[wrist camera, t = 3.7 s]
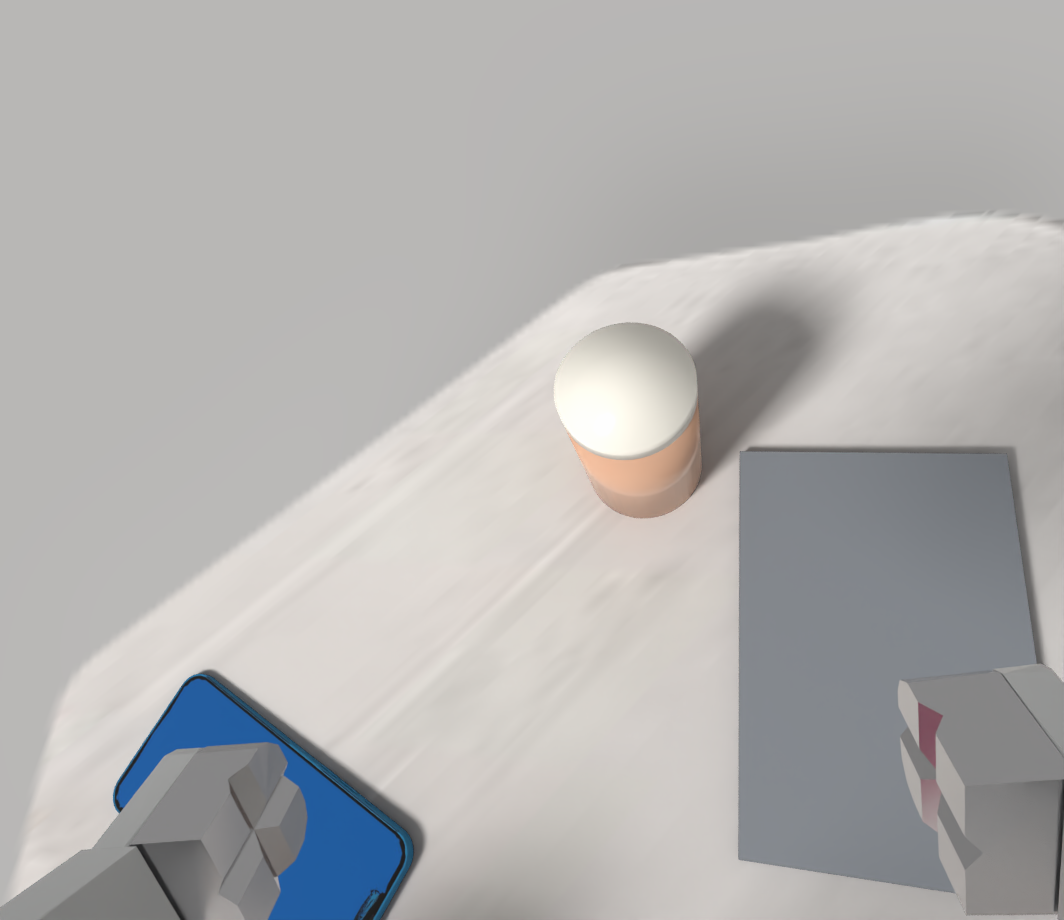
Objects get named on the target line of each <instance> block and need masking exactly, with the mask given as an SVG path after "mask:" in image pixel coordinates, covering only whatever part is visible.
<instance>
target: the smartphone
mask: <svg viewBox="0 0 1064 920" xmlns="http://www.w3.org/2000/svg"><path fill="white" fill-rule="evenodd" d="M262 742H269V743H273V744H277V745H279V747H280V749H281V751H282V752H283V754H284V756H285V758H286V760H287V762H288V764H287V767H286V770H285V772H284V776H285V777H286V778H288V779H289V780H291V781H292V782H293V783H295V784H296V785H297V786H299V788H300V790H301V792H302V795H303V797H304V799H305V804H306V810H307V817H308V818H307V825H306V832H305V839H304V842H303V844H302V847H301V849H300V851H299V853H298V856H297V858H296V860H295V861H294V862H293V863H292V864H291V865H290V866H289V867H288V868H287V869H285V870H284V871H283V872H282V873H281V874H280V875H279V876H278V881H279V886H280V891H281V892H280V894H279V897H278V899H277V901H276V903H275V905H274V907H273V909H272V911H271V913H270V916H269V918H268V920H380V919H381V917H382V915H383V914H384V912H385V910H386V908H387V906H388V905H389V903H390V901H391V899H392V898H393V896H394V894H395V892H396V890H397V889H398V887H399V885H400V883H401V882H402V880H403V878H404V876H405V874H406V873H407V871H408V869H409V867H410V865H411V863H412V859H413V844H412V840H411V838H410V836H409V835H408V833H407V832H406V831H405V830H404V829H403V828H402V827H400V826H399V825H398V824H397V823H395V822H394V821H393V820H392V819H390V818H389V817H388V816H387V815H385V814H384V813H383V812H382V811H380V810H379V809H378V808H377V807H375V806H374V805H373V804H372V803H370V802H369V801H368V800H367V799H365V798H364V797H363V796H362V795H360V794H359V793H358V792H357V791H355V790H354V789H353V788H352V787H350V786H349V785H348V784H347V783H345V782H344V781H343V780H341V779H340V778H339V777H338V776H337V775H335V774H334V773H333V772H332V771H330V770H329V769H328V768H327V767H325V766H324V765H322V764H321V763H320V762H319V761H317V760H316V759H315V758H314V757H312V756H311V755H310V754H309V753H307V752H306V751H305V750H303V749H302V748H301V747H300V746H298V745H297V744H296V743H295V742H293V741H292V740H291V739H290V738H288V737H287V736H286V735H285V734H283V733H282V732H281V731H279V730H278V729H277V728H276V727H274V726H273V725H272V724H271V723H269V722H268V721H267V720H266V719H264V718H263V717H262V716H261V715H259V714H258V713H257V712H256V711H254V710H253V709H252V708H251V707H250V706H248V705H247V704H246V703H244V702H243V701H242V700H241V699H239V698H238V697H237V696H236V695H234V694H233V693H232V692H231V691H229V690H228V689H227V688H226V687H224V686H223V685H222V684H220V683H219V682H218V681H217V680H215V679H214V678H213V677H211V676H209V675H205V674H196V675H193V676H191V677H189V678H188V679H187V680H186V681H185V682H184V683H183V685H182V686H181V688H180V689H179V691H178V692H177V693H176V695H175V696H174V698H173V699H172V701H171V702H170V704H169V705H168V707H167V708H166V710H165V711H164V713H163V714H162V716H161V717H160V719H159V720H158V722H157V723H156V725H155V726H154V728H153V729H152V731H151V732H150V734H149V735H148V737H147V738H146V740H145V741H144V743H143V744H142V746H141V747H140V749H139V750H138V752H137V753H136V755H135V756H134V758H133V759H132V761H131V762H130V764H129V765H128V767H127V768H126V770H125V771H124V773H123V774H122V775H121V777H120V778H119V780H118V782H117V784H116V786H115V789H114V793H113V803H114V806H115V808H116V810H117V811H118V813H120V812H121V811H122V810H123V808H124V807H125V806H126V805H127V803H128V802H129V801H130V799H131V798H132V797H133V796H134V794H135V793H136V792H137V790H138V789H139V788H140V787H141V785H142V784H143V783H144V781H145V780H146V779H147V778H148V776H149V775H150V774H151V772H152V771H153V770H154V769H155V767H156V766H157V765H158V763H159V762H160V761H161V760H162V758H163V757H164V756H165V755H167V754H169V753H171V752H173V751H175V750H176V749H189V748H205V747H207V746H220V745H234V744H248V743H262Z"/></svg>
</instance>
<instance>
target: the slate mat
mask: <svg viewBox="0 0 1064 920" xmlns="http://www.w3.org/2000/svg"><path fill="white" fill-rule="evenodd" d="M1033 664H1037V661H1036V654H1035V647H1034V640H1033V633H1032V626H1031V619H1030V612H1029V605H1028V598H1027V591H1026V584H1025V577H1024V570H1023V563H1022V556H1021V549H1020V542H1019V535H1018V528H1017V521H1016V514H1015V507H1014V500H1013V493H1012V486H1011V479H1010V472H1009V465H1008V458H1007V454H979V453H868V452H757V451H740V523H739V843H738V858H739V860H744V861H750V862H757V863H763V864H769V865H776V866H782V867H789V868H795V869H802V870H808V871H815V872H821V873H828V874H834V875H841V876H847V877H854V878H860V879H867V880H873V881H880V882H886V883H893V884H899V885H906V886H912V887H919V888H925V889H932V890H938V891H944V892H951V893H956V892H955V890H954V888H953V886H952V884H951V882H950V880H949V878H948V875H947V873H946V871H945V869H944V867H943V865H942V863H941V860H940V858H939V846H938V832H936V831H935V830H934V829H932V828H931V827H930V826H928V825H927V824H925V823H924V822H923V821H922V819H921V817H920V814H919V812H918V810H917V808H916V805H915V803H914V801H913V798H912V795H911V792H910V789H909V787H908V784H907V780H906V775H905V771H904V766H903V762H902V755H901V744H900V735H901V734H902V733H903V732H904V731H905V729H906V728H907V727H908V725H907V723H906V721H905V719H904V717H903V715H902V713H901V711H900V709H899V707H898V686H899V681H900V680H902V679H912V678H921V677H931V676H940V675H950V674H959V673H969V672H978V671H987V670H989V671H992V670H993V669H999V668H1007V667H1016V666H1024V665H1033Z"/></svg>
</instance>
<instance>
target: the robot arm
mask: <svg viewBox="0 0 1064 920" xmlns="http://www.w3.org/2000/svg"><path fill="white" fill-rule="evenodd" d="M898 707H899V709H900V711H901V713H902V715H903V717H904V719H905V721H906V723H907V725H908V727H907V728H906V729H905V731H904V732H903V733H902V734H901V735H900V744H901V755H902V762H903V766H904V771H905V775H906V780H907V784H908V787H909V789H910V792H911V795H912V798H913V801H914V803H915V805H916V808H917V810H918V812H919V814H920V817H921V819H922V821H923V822H924V823H925V824H927V825H928V826H930V827H931V828H932V829H934V830H935V831H936V832H938V846H939V858H940V860H941V863H942V865H943V867H944V869H945V871H946V873H947V875H948V878H949V880H950V882H951V884H952V886H953V888H954V890H955V892H956V895H957V897H958V899H959V901H960V903H961V905H962V907H963V910H964V912H965V914H966V915H1044V914H1058V918H1057V919H1058V920H1064V683H1063V681H1062V680H1061V679H1060V678H1059V677H1058V676H1057V674H1056V673H1055V672H1054V671H1053V670H1052V669H1051V668H1049V667H1047V666H1045V665H1043V664H1033V665H1024V666H1016V667H1007V668H999V669H993V670H992V671H989V670H987V671H978V672H969V673H959V674H950V675H940V676H931V677H921V678H912V679H902V680H900V681H899V686H898ZM287 764H288V762H287V760H286V758H285V756H284V754H283V752H282V751H281V749H280V747H279V745H277V744H273V743H269V742H262V743H248V744H234V745H220V746H207V747H205V748H189V749H176V750H175V751H173V752H171V753H169V754H167V755H165V756H164V757H163V758H162V760H161V761H160V762H159V763H158V765H157V766H156V767H155V769H154V770H153V771H152V772H151V774H150V775H149V776H148V778H147V779H146V780H145V781H144V783H143V784H142V785H141V787H140V788H139V789H138V790H137V792H136V793H135V794H134V796H133V797H132V798H131V799H130V801H129V802H128V803H127V805H126V806H125V807H124V808H123V810H122V811H121V812H120V813H119V815H118V816H117V817H116V819H115V820H114V821H113V822H112V824H111V825H110V826H109V828H108V829H107V830H106V831H105V833H104V834H103V835H102V837H101V838H100V839H99V840H98V842H97V843H96V844H95V846H94V847H93V848H92V849H89V850H81V851H80V852H78V853H77V854H75V855H74V856H73V857H71V858H70V859H68V860H67V861H65V862H64V863H63V864H61V865H60V866H58V867H57V868H56V869H54V870H53V871H51V872H50V873H48V874H47V875H46V876H44V877H43V878H41V879H40V880H39V881H37V882H36V883H34V884H33V885H31V886H30V887H29V888H27V889H26V890H24V891H23V892H21V893H20V894H19V895H17V896H16V897H14V898H13V899H12V900H10V901H9V902H7V903H6V904H4V905H3V906H2V907H0V920H268V918H269V916H270V913H271V911H272V909H273V907H274V905H275V903H276V901H277V899H278V897H279V894H280V892H281V891H280V886H279V881H278V876H279V875H280V874H281V873H282V872H283V871H284V870H285V869H287V868H288V867H289V866H290V865H291V864H292V863H293V862H294V861H295V860H296V858H297V856H298V853H299V851H300V849H301V847H302V844H303V842H304V839H305V832H306V825H307V818H308V817H307V810H306V804H305V799H304V797H303V795H302V792H301V790H300V788H299V786H297V785H296V784H295V783H293V782H292V781H291V780H289V779H288V778H286V777H285V776H284V772H285V770H286V767H287Z"/></svg>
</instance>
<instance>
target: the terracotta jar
mask: <svg viewBox="0 0 1064 920" xmlns="http://www.w3.org/2000/svg"><path fill="white" fill-rule="evenodd" d="M554 400H555V405H556V409H557V411H558V413H559V416H560V418H561V420H562V422H563V424H564V426H565V429H566V431H567V433H568V435H569V437H570V439H571V441H572V443H573V445H574V448H575V450H576V452H577V454H578V456H579V458H580V460H581V462H582V464H583V467H584V469H585V471H586V473H587V475H588V477H589V479H590V481H591V483H592V486H593V488H594V490H595V491H596V493H597V495H598V496H599V497H600V499H601V500H602V501H603V502H604V503H605V504H606V505H607V506H608V507H610V508H611V509H613V510H614V511H616V512H618V513H620V514H623V515H626V516H629V517H634V518H653V517H658V516H662V515H665V514H667V513H669V512H672V511H673V510H675V509H677V508H678V507H680V506H681V505H682V504H683V503H685V502H686V501H687V500H688V499H689V497H690V496H691V495H692V493H693V492H694V490H695V488H696V487H697V485H698V482H699V479H700V475H701V469H702V458H701V440H700V423H699V405H698V387H697V373H696V368H695V365H694V362H693V359H692V357H691V355H690V354H689V352H688V350H687V349H686V348H685V346H684V345H683V344H682V343H681V342H680V341H679V340H678V339H677V338H676V337H674V336H673V335H671V334H670V333H668V332H666V331H665V330H663V329H660V328H658V327H655V326H652V325H648V324H642V323H619V324H614V325H610V326H606V327H603V328H601V329H598V330H596V331H594V332H592V333H590V334H589V335H587V336H585V337H584V338H583V339H581V340H580V341H579V342H577V343H576V344H575V345H574V346H573V347H572V348H571V349H570V351H569V352H568V353H567V354H566V356H565V357H564V359H563V360H562V362H561V364H560V366H559V368H558V371H557V374H556V377H555V383H554Z"/></svg>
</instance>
